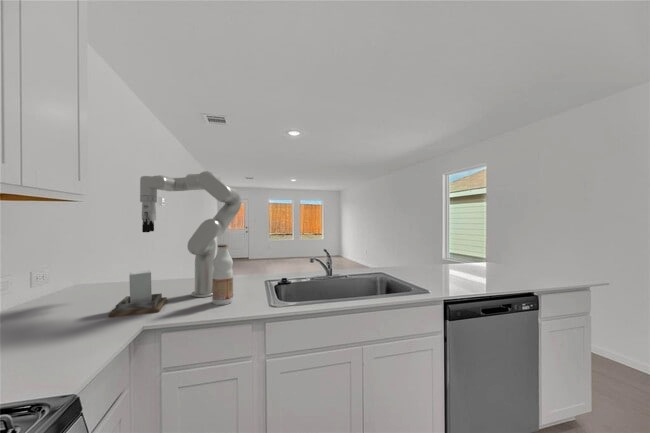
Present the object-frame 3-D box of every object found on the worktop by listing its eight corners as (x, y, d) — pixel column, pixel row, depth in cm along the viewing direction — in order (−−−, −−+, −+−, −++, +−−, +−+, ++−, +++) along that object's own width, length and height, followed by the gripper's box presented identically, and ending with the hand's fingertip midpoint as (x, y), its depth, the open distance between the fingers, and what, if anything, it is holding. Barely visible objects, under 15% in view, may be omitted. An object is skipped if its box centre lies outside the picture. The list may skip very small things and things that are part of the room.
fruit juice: (216, 306, 127) (216, 246, 127) (209, 301, 134) (210, 244, 134) (236, 302, 133) (236, 244, 133) (228, 298, 140) (229, 243, 140)
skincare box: (151, 301, 129) (151, 269, 129) (151, 304, 124) (152, 272, 124) (129, 304, 124) (129, 271, 124) (129, 308, 119) (129, 274, 119)
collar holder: (166, 300, 136) (166, 292, 136) (159, 312, 119) (159, 302, 119) (123, 304, 130) (123, 295, 130) (108, 317, 113) (108, 307, 113)
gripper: (153, 198, 139) (152, 232, 139) (159, 200, 156) (159, 230, 156) (135, 198, 137) (135, 232, 137) (144, 200, 153) (144, 231, 153)
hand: (148, 231), depth 146 cm, fingers open, 9 cm apart
